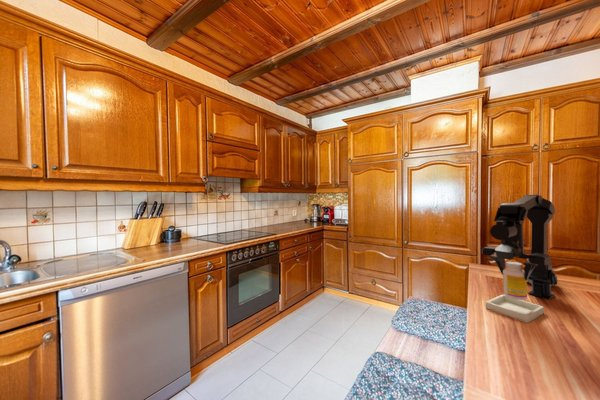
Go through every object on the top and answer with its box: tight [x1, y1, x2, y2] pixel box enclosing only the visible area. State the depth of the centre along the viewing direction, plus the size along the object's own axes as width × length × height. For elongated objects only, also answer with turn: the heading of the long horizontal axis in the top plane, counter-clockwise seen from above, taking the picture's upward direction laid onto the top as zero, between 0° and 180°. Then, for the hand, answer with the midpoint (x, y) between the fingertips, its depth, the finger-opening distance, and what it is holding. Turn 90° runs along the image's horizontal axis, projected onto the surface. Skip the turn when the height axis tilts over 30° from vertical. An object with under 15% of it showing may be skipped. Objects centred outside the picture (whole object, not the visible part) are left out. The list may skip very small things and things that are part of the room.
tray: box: [485, 293, 545, 324], centre depth 89 cm, size 13×13×2 cm
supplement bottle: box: [502, 261, 528, 301], centre depth 88 cm, size 7×7×13 cm
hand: (514, 277), depth 88 cm, fingers closed on supplement bottle, 7 cm apart
